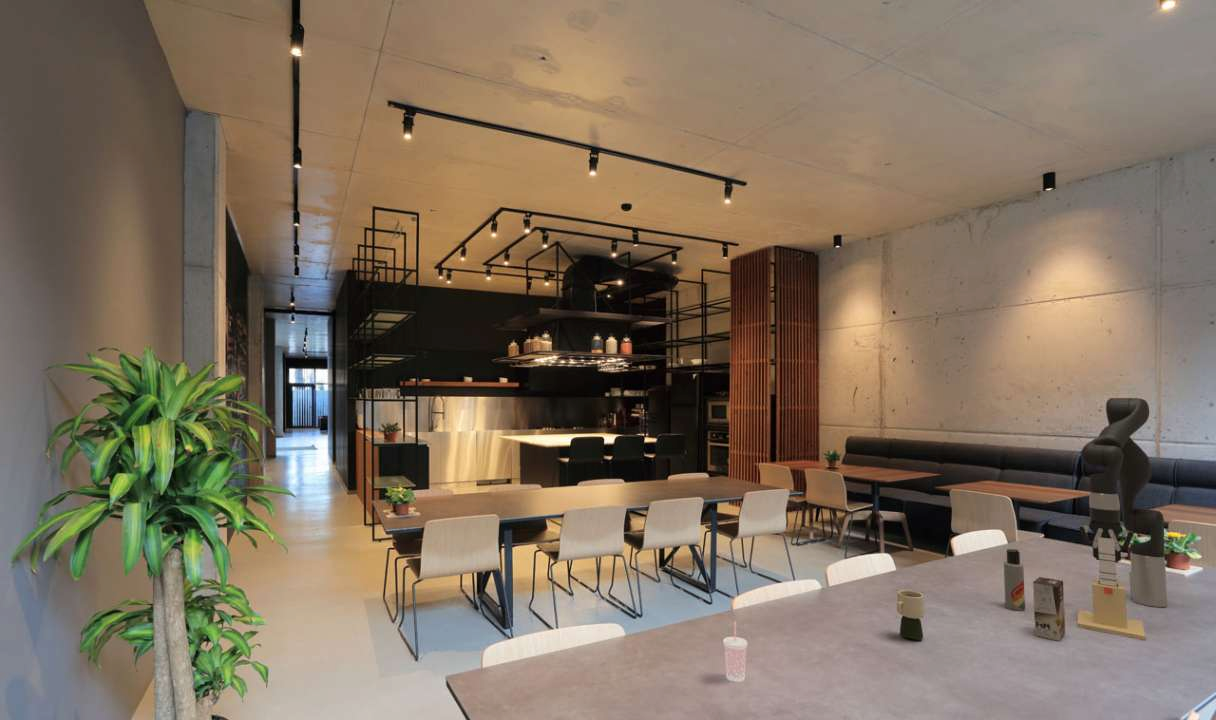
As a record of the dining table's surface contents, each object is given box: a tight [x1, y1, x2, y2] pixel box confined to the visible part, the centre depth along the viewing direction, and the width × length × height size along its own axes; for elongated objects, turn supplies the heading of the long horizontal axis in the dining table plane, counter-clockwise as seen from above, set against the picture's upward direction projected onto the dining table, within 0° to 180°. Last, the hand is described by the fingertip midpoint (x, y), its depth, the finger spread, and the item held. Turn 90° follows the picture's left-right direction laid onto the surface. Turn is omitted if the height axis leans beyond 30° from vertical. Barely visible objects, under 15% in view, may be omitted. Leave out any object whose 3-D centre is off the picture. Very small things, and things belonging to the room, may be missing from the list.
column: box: [1098, 537, 1118, 587], centre depth 191 cm, size 4×4×20 cm
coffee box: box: [1032, 576, 1066, 642], centre depth 183 cm, size 9×6×16 cm
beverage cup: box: [722, 620, 748, 683], centre depth 152 cm, size 6×6×14 cm
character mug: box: [896, 589, 925, 640], centre depth 179 cm, size 11×7×13 cm, turn 114°
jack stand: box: [1077, 578, 1146, 641], centre depth 190 cm, size 16×16×13 cm
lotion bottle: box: [1003, 548, 1026, 612], centre depth 207 cm, size 6×6×20 cm
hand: (1107, 560), depth 191 cm, fingers closed on column, 4 cm apart
